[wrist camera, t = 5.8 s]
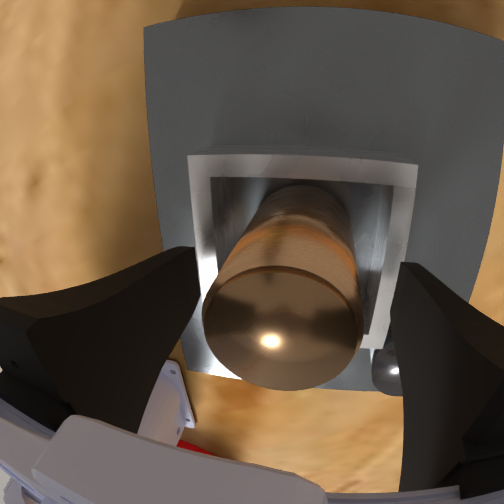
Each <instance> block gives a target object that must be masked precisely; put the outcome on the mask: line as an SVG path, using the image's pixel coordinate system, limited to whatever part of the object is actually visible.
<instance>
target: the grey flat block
mask: <svg viewBox="0 0 504 504" xmlns="http://www.w3.org/2000/svg"><path fill="white" fill-rule="evenodd" d="M144 64H145V87H146V104H147V118H148V130H149V141H150V152H151V162H152V171H153V180H154V188H155V196H156V204H157V211H158V218H159V225H160V232H161V238H162V245H163V251H166V250H169V249H171V248H174V247H177V246H189V247H195V252H196V261H197V269H198V276H199V284H200V292H201V296H200V298H199V301H198V304H197V306H196V309H195V311H194V313H193V316H192V318H191V319H190V321H189V323H188V325H187V326H186V328H185V330H184V331H183V333H182V335H181V336H180V339H181V344H182V348H183V352H184V357H185V361H186V365H187V369H188V370H192V371H197V372H202V373H207V374H213V375H219V376H225V377H231V378H237V379H241V378H239V377H237V376H236V375H234V374H233V373H231V372H230V371H229V370H227V369H226V368H225V367H224V366H223V365H222V364H221V363H220V362H219V361H218V360H217V359H216V357H215V356H214V355H213V353H212V351H211V350H210V348H209V346H208V344H207V341H206V338H205V334H204V328H203V324H202V315H201V314H202V305H203V301H204V298H205V295H206V293H207V291H208V289H209V288H210V286H211V284H212V283H213V281H214V279H215V278H216V276H217V274H218V273H219V271H220V269H221V268H222V266H223V265H224V263H225V261H226V260H227V258H228V256H229V255H230V253H231V252H232V250H233V248H234V247H235V245H236V243H237V242H238V240H239V239H240V237H241V235H242V234H243V232H244V231H245V229H246V227H247V226H248V224H249V223H250V221H251V219H252V218H253V216H254V214H255V213H256V211H257V210H258V208H259V207H260V205H261V204H262V202H263V201H264V200H265V199H266V198H267V197H268V196H270V195H271V194H272V193H274V192H276V191H277V190H280V189H282V188H285V187H288V186H294V185H307V186H313V187H317V188H319V189H322V190H324V191H326V192H328V193H329V194H331V195H332V196H333V197H335V198H336V199H337V200H338V201H339V202H340V203H341V205H342V206H343V207H344V209H345V211H346V212H347V214H348V217H349V220H350V223H351V229H352V235H353V241H354V247H355V254H356V260H357V267H358V275H359V282H360V290H361V299H362V307H363V317H364V335H363V340H362V343H361V346H360V348H359V350H358V352H357V354H356V355H355V356H354V358H353V359H352V360H351V362H350V363H349V364H348V366H347V367H346V368H345V369H344V370H343V371H342V372H341V373H340V374H339V375H338V376H336V377H335V378H333V379H332V380H330V381H328V382H326V383H324V384H322V385H319V386H316V387H313V388H322V389H336V390H354V391H380V392H382V393H384V394H387V395H391V396H403V392H402V385H401V379H400V374H399V369H398V363H397V358H396V354H395V349H394V344H393V339H392V333H391V321H390V308H391V304H392V300H393V295H394V291H395V287H396V282H397V277H398V272H399V268H400V263H401V262H414V263H418V264H420V265H422V266H423V267H424V268H426V269H427V270H428V271H429V272H431V273H432V274H433V275H434V276H435V277H437V278H438V279H439V280H440V281H441V282H443V283H444V284H445V285H446V286H447V287H449V288H450V289H451V290H452V291H453V292H455V293H456V294H457V295H458V296H460V297H461V298H462V299H464V300H465V301H466V302H469V299H470V297H471V294H472V291H473V288H474V285H475V281H476V278H477V275H478V272H479V268H480V265H481V261H482V258H483V254H484V251H485V247H486V243H487V239H488V235H489V230H490V226H491V222H492V217H493V212H494V207H495V202H496V196H497V190H498V184H499V178H500V171H501V163H502V154H503V144H504V41H502V40H499V39H497V38H494V37H491V36H488V35H485V34H482V33H479V32H475V31H472V30H469V29H465V28H462V27H458V26H454V25H450V24H446V23H442V22H438V21H434V20H429V19H424V18H419V17H414V16H409V15H403V14H396V13H390V12H382V11H374V10H365V9H354V8H339V7H269V8H254V9H243V10H233V11H225V12H217V13H210V14H204V15H198V16H192V17H187V18H182V19H177V20H172V21H167V22H163V23H158V24H154V25H150V26H146V27H144Z"/></svg>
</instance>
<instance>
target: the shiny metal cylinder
mask: <svg viewBox="0 0 504 504" xmlns="http://www.w3.org/2000/svg"><path fill="white" fill-rule="evenodd" d="M201 315H202V324H203V328H204V334H205V338H206V341H207V344H208V346H209V348H210V350H211V351H212V353H213V355H214V356H215V357H216V359H217V360H218V361H219V362H220V363H221V364H222V365H223V366H224V367H225V368H226V369H227V370H229V371H230V372H231V373H233V374H234V375H236V376H237V377H239V378H241V379H243V380H245V381H247V382H249V383H251V384H254V385H257V386H260V387H264V388H268V389H274V390H283V391H296V390H304V389H309V388H313V387H316V386H319V385H322V384H324V383H326V382H328V381H330V380H332V379H333V378H335V377H336V376H338V375H339V374H340V373H341V372H342V371H343V370H344V369H345V368H346V367H347V366H348V364H349V363H350V362H351V360H352V359H353V358H354V356H355V355H356V354H357V352H358V350H359V348H360V346H361V343H362V340H363V335H364V317H363V307H362V299H361V290H360V282H359V275H358V267H357V260H356V254H355V247H354V241H353V235H352V229H351V223H350V220H349V217H348V214H347V212H346V211H345V209H344V207H343V206H342V205H341V203H340V202H339V201H338V200H337V199H336V198H335V197H333V196H332V195H331V194H329V193H328V192H326V191H324V190H322V189H319V188H317V187H313V186H307V185H294V186H288V187H285V188H282V189H280V190H277V191H276V192H274V193H272V194H271V195H270V196H268V197H267V198H266V199H265V200H264V201H263V202H262V204H261V205H260V207H259V208H258V210H257V211H256V213H255V214H254V216H253V218H252V219H251V221H250V223H249V224H248V226H247V227H246V229H245V231H244V232H243V234H242V235H241V237H240V239H239V240H238V242H237V243H236V245H235V247H234V248H233V250H232V252H231V253H230V255H229V256H228V258H227V260H226V261H225V263H224V265H223V266H222V268H221V269H220V271H219V273H218V274H217V276H216V278H215V279H214V281H213V283H212V284H211V286H210V288H209V289H208V291H207V293H206V295H205V298H204V301H203V305H202V314H201Z"/></svg>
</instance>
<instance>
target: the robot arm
mask: <svg viewBox="0 0 504 504" xmlns="http://www.w3.org/2000/svg"><path fill="white" fill-rule="evenodd" d="M200 296H201V292H200V284H199V276H198V269H197V261H196V252H195V247H189V246H177V247H174V248H171V249H169V250H166V251H164V252H162V253H159V254H157V255H155V256H153V257H151V258H148V259H146V260H144V261H142V262H140V263H138V264H135V265H133V266H131V267H128V268H126V269H124V270H121V271H119V272H117V273H114V274H112V275H109V276H107V277H104V278H101V279H99V280H96V281H93V282H90V283H86V284H83V285H79V286H75V287H71V288H67V289H64V290H59V291H54V292H49V293H43V294H36V295H29V296H16V297H2V298H0V366H1V368H2V370H3V371H2V372H1V373H0V468H1V469H2V470H3V471H5V472H6V473H7V474H8V475H9V476H11V478H10V480H9V482H8V483H7V485H6V487H5V488H4V494H5V495H4V502H5V504H504V326H502V325H500V324H499V323H497V322H495V321H494V320H492V319H491V318H489V317H488V316H486V315H484V314H483V313H481V312H480V311H478V310H477V309H476V308H474V307H473V306H471V305H470V304H469V303H468V302H466V301H465V300H464V299H462V298H461V297H460V296H458V295H457V294H456V293H455V292H453V291H452V290H451V289H450V288H449V287H447V286H446V285H445V284H444V283H443V282H441V281H440V280H439V279H438V278H437V277H435V276H434V275H433V274H432V273H431V272H429V271H428V270H427V269H426V268H424V267H423V266H422V265H420V264H418V263H414V262H401V263H400V268H399V272H398V277H397V282H396V287H395V291H394V295H393V300H392V304H391V308H390V321H391V333H392V339H393V344H394V349H395V354H396V358H397V363H398V369H399V374H400V379H401V385H402V392H403V409H404V438H403V457H402V469H401V477H400V485H399V492H391V493H328V492H325V491H324V490H323V489H322V488H321V487H320V486H319V485H318V484H316V483H313V482H311V481H309V480H307V479H305V478H303V477H301V476H299V475H297V474H295V473H292V472H287V471H282V470H278V469H274V468H270V467H266V466H262V465H258V464H253V463H247V462H241V461H236V460H231V459H226V458H221V457H216V456H212V455H208V454H203V453H199V452H195V451H191V450H187V449H184V448H180V447H176V446H177V443H178V441H179V439H180V437H181V435H182V432H183V430H184V428H185V427H189V428H194V427H195V426H196V423H195V420H194V417H193V413H192V410H191V407H190V403H189V400H188V396H187V393H186V389H185V385H184V382H183V378H182V374H181V371H180V367H179V365H178V363H177V362H175V361H172V360H167V358H168V357H169V355H170V353H171V351H172V350H173V348H174V346H175V345H176V343H177V341H178V340H179V338H180V336H181V335H182V333H183V331H184V330H185V328H186V326H187V325H188V323H189V321H190V319H191V318H192V316H193V313H194V311H195V309H196V306H197V304H198V301H199V298H200Z"/></svg>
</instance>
